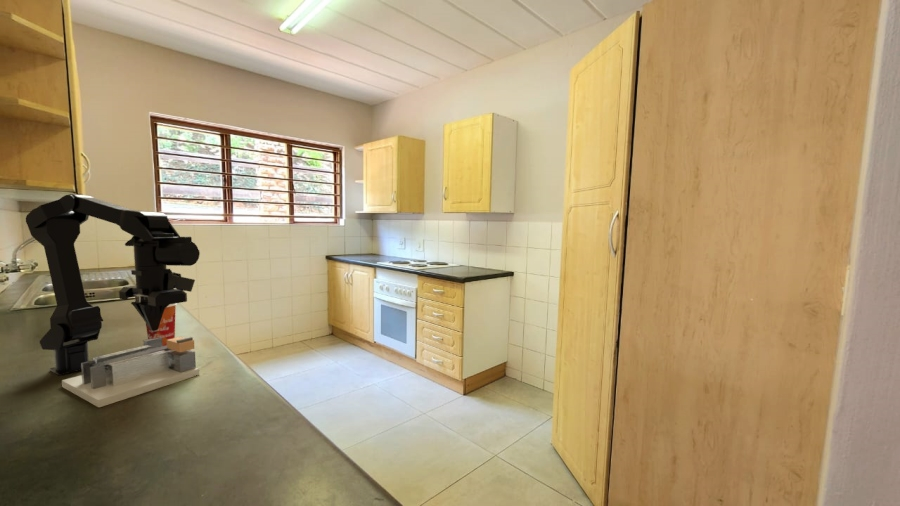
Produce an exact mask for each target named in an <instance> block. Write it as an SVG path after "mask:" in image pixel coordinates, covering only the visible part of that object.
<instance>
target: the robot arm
mask: <svg viewBox="0 0 900 506" xmlns="http://www.w3.org/2000/svg"><path fill="white" fill-rule="evenodd" d="M89 217H91V218H95V219H99V220H102V221H105V222H109V223H112V224H115V225H117V226H119V228H120V229H121V231H123V232H125V233H128V234H129V235H131V236H132V237H131V238H130V239H129V240H127V241H126V242H125V243H124V245H125V247H133V257H134V269H131V270H130V271H131V273H130V274H131V275H133V276H135V285H130V286H123V287H122V288H121V289H120V290H119V291H118V293H119V295H118V296H119V299H120V300H124V301H125V300H128V299H129V298H134V301H132V302H131V303H130V304H131V305H132V306H133V307H134V308H135V310H136V311H137V313H138V314H139V315H140V316H141V318H142V320H143V321H144V322H145V325H146V324H147V325H148V327H149V328H150V330H151V331H155V330H158V328H159V325H160V321H161V318H162V315H163V312H164V310H165V308H166V307H167V306H168V305H170V304H175V303H177V304H181V303H186V302H188V293H187V292H190V293H191V292H193V291H192V290H193V288H194V284H195V281H196V280H195V279H194V278H189V277H184V276H182V274H181V273H180V272H179V273H177V272H173V271H172V270H171V268H167V266H176V267H177V266H182V267H183V266H186V267H187V266H188V267H191V266H193V265H195V264H196V263H197V262H198V261H199V258H200V255H201V252H200V249H199V248H198V245H197V244H196V243H195V242H194V241H193V240H192V239H193V238H192V237H191V236H180V234H179V233H178V231H177V230H176V229H175V227H174V226H173V224H172V223H171V222H170V220H169V218H168V215H166V214H165V213H163V212H159V211H149V210H139V209H138V210H137V209H136V210H135V209H132V208H127V207H125V206H121V205H118V204H115V203H112V202H108V201H105V200H101V199H98V198H95V197H93V196H91V195H89V194H88V195H87V194H76V193H75V194H74V193H69V194H64V195H63V196H62V197H60V198H58V199H56V200H53V201H50V202H47V203H44V204H41V205H39V206H37V207H36V208H33V209H32V210H31V211H30V212H28V213H27V214H26V216H25V222H26V225H27V228H28V230H29V233H30V235H31V237H32V238H33V239H35V240H36V241H37V242H38V243H39V244H40V245H41V246H42V247H44V252H45V253H44V254H45V256H46V257H45V258H46V262H47V265H48V271H49V275H50V279H51V284H52V289H53V294H54V298H55V302H56V307H55V309H54V311H53V313H52V314H51V316H50V318H49V323H50V326H49V327H50V328H49V329H48V331H47V332H46V333H45V334H44V335H43V336H42V337H41V339H40V340H39V344H40V347H41V349H42V350H45V351H47V350H48V351H49V350H50V351H54V364H55V366H54V367H50V368H49V371H50V372H51V373H54V374H55V375H57V376H61V375H66V374H70V373H74V372H77V371H82V370H81V363H83V362H87V361H90V360H89V359H90V357H89V342H92V341H96V340H98V339H99V335H100V332H101V329H102V327H103V323H102V322H104V318H103V317H102V314H101V313H102V312H101V307H100V305H92V304H91V303H90V302H89V301H87V298H86V293H85V289H84V283H83V279H82V275H81V270H80V266H79V261H78V256H77V252H76V247H75V243H76V241H77V239H78V237H79V236H80V234H81V225H82V224H83V223H85V222H87V221H88V220H89Z"/></svg>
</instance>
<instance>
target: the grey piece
mask: <svg viewBox="0 0 900 506" xmlns="http://www.w3.org/2000/svg"><path fill="white" fill-rule="evenodd" d="M142 341H143V343H142V346H138V347H133V348H128V349H125V350H120V351H116V352H113V353H108V354H104V355H99V356H95V357H92V360H89V361H87V362H83V363H81V370H80V371H81V375H82V384H88V383H91V387H92V389H96V388H100V387H103V386H106V383H107V384H109V385H111V386H113V387H115V386H118V385H121V384H125V383H128V382H131V381H135V380H138V379H142V378H145V377H148V376H152V375H155V374H158V373H162V372H165V371H169V369H172V370H174V371H177V372H180V373H182V372H185V371H188V370H191V369H195V368H197V367H196V366H197V364H196V351H193V350H192V349H191V350H187V351H184V352H177V351H174V350H169V351H164V350H162V351H158V352H154V353H150V354H146V355H142V356H138V357H134V358H130V359H126V360H122V361H118V362H114V363H110V364H108V368H106V369H105V365H104V364H101V365H97V366H93V367H92V364H96V363H99V362H103V361H107V360H111V359H115V358H118V357H122V356H126V355H130V354H134V353H138V352H141V351H145V350H149V349H153V348H157V347H160V346H162V338H160V337H156V338H151V339H148V338H147V339H143V340H142Z"/></svg>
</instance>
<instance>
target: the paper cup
mask: <svg viewBox="0 0 900 506" xmlns="http://www.w3.org/2000/svg"><path fill="white" fill-rule="evenodd" d="M177 305H178V303H175V304H170V305H168V306H167V307H166V308H165V310H164V312H163V315H162V318H161V321H160V325H159V328H158V330H155V331H151V330H150V328H149V327H148V325H147V324H146V323H145V329H146V334H147V339H151V338H156V337H160V338H162V346H164V345H167V340H169V339H173V338H176V337H175V336H176V333H175V332H176V306H177Z"/></svg>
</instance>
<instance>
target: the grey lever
mask: <svg viewBox="0 0 900 506" xmlns="http://www.w3.org/2000/svg"><path fill="white" fill-rule="evenodd" d="M162 350H164V351H169V350H171V349H168V348H167V345H164V346H160V347H157V348H153V349H149V350H145V351H141V352H138V353H134V354H130V355H126V356H122V357H118V358H115V359H111V360H107V361H103V362H99V363H96V364H92V367H93V366H97V365H101V364H104V365H105V369H106V368H108V364H110V363H114V362H118V361H122V360H126V359H130V358H134V357H138V356H142V355H146V354H150V353H154V352H158V351H162Z"/></svg>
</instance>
